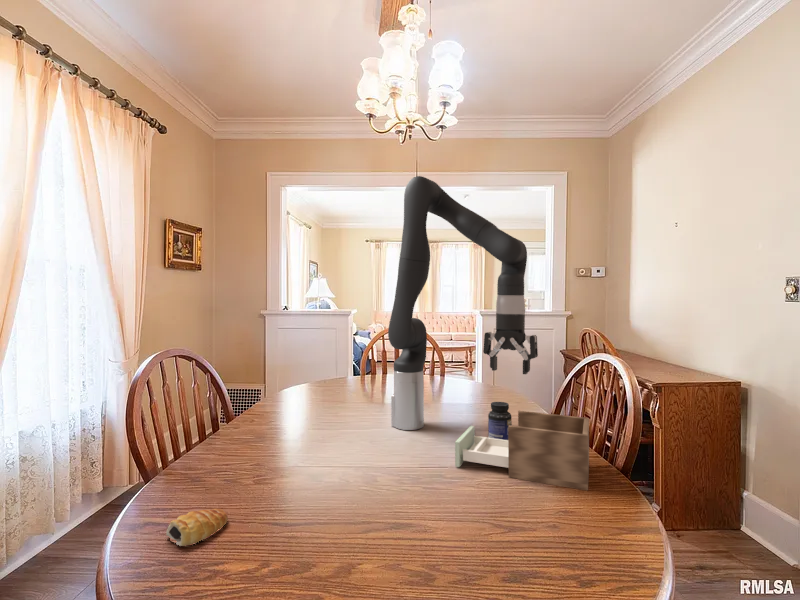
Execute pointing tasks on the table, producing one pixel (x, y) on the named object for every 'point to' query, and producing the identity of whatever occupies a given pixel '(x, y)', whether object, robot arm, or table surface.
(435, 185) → the robot arm
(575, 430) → the caddy
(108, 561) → the table surface
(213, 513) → the pastry
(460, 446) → the drawer
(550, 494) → the table surface
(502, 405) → the pill bottle
